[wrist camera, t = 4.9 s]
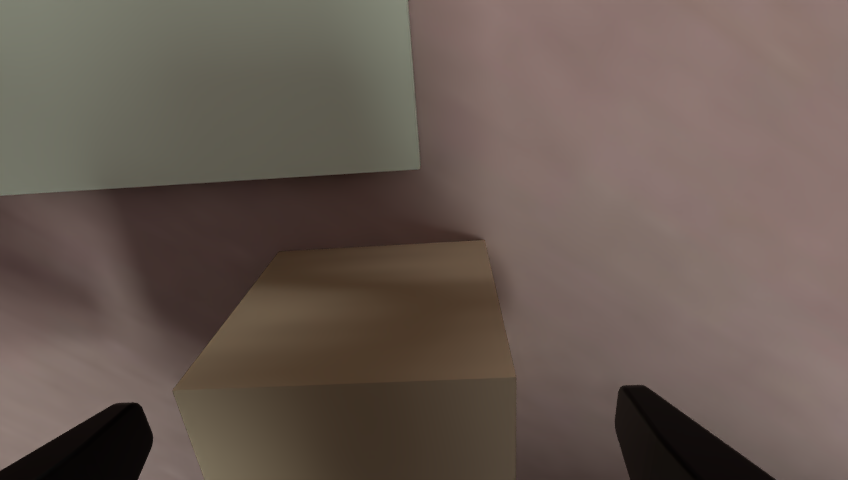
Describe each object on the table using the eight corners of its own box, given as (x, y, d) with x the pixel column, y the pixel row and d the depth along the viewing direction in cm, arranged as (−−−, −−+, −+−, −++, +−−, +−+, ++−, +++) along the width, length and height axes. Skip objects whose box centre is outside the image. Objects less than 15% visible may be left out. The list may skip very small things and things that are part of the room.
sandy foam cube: (314, 407, 12) (247, 600, 8) (280, 249, 10) (171, 391, 6) (488, 401, 12) (514, 597, 8) (484, 238, 10) (516, 376, 6)
